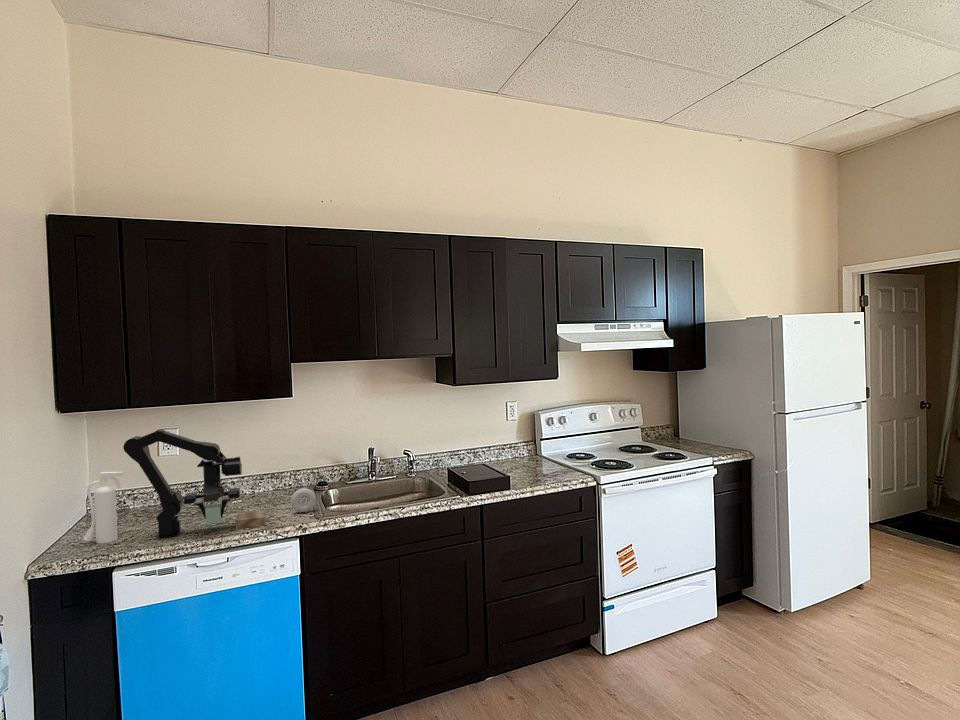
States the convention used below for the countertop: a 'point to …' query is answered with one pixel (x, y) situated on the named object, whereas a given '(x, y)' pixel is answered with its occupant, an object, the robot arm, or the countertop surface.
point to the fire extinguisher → (103, 509)
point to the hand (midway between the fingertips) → (213, 518)
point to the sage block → (213, 513)
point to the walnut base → (250, 519)
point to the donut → (306, 506)
